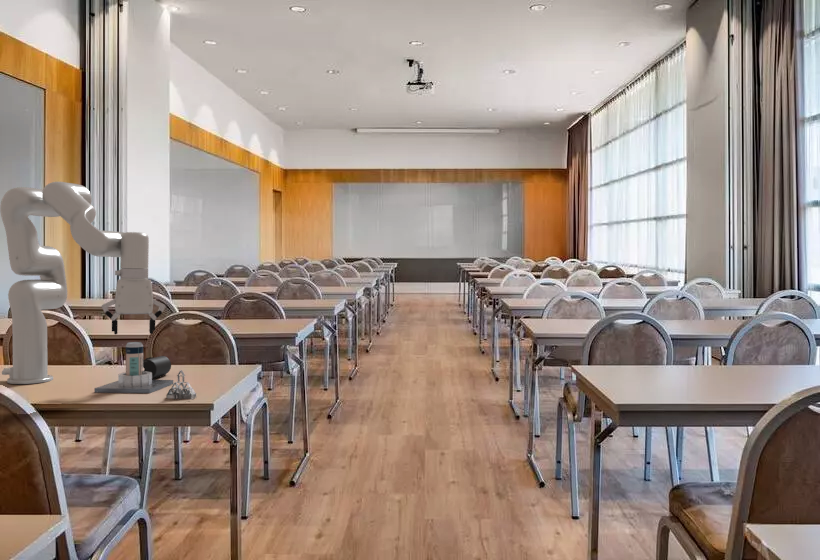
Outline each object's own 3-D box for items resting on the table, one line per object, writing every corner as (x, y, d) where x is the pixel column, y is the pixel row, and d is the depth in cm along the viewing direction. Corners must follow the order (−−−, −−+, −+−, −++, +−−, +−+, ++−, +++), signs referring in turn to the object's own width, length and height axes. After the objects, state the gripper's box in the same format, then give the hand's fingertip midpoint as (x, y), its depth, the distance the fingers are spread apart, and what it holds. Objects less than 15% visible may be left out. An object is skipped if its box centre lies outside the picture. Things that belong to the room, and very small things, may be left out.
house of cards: (151, 402, 183) (150, 373, 183) (165, 396, 192) (165, 368, 192) (184, 403, 182) (184, 374, 182) (197, 397, 191) (197, 369, 191)
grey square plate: (94, 392, 197) (94, 377, 197) (122, 383, 213) (122, 369, 213) (149, 393, 196) (149, 378, 195) (173, 383, 212) (173, 370, 211)
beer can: (138, 382, 207) (138, 341, 207) (146, 383, 204) (146, 342, 204) (122, 384, 204) (122, 342, 204) (130, 385, 201) (130, 344, 200)
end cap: (156, 381, 217) (156, 359, 217) (134, 381, 218) (134, 359, 218) (171, 376, 227) (171, 355, 227) (150, 376, 228) (150, 355, 228)
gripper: (102, 274, 197) (101, 335, 197) (167, 275, 204) (166, 334, 204) (101, 274, 203) (100, 333, 204) (164, 274, 211) (163, 331, 211)
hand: (133, 333), depth 204 cm, fingers open, 9 cm apart
